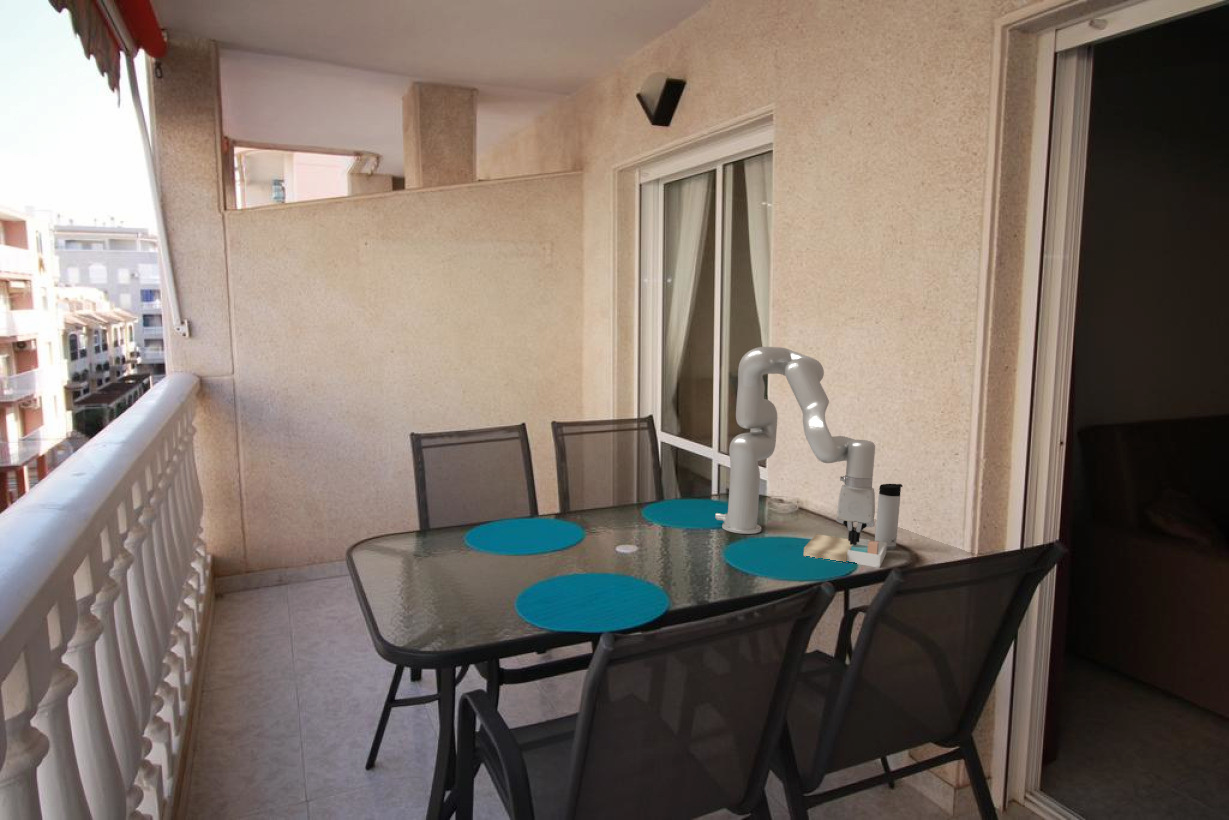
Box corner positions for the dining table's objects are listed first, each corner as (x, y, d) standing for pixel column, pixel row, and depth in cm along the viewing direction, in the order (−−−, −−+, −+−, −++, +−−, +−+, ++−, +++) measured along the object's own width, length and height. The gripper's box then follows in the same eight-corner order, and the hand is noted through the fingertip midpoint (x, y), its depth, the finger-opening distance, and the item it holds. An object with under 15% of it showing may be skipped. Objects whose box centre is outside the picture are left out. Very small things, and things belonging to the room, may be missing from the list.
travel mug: (898, 551, 233) (904, 486, 231) (875, 549, 235) (881, 484, 233) (895, 545, 239) (900, 482, 237) (873, 543, 241) (878, 480, 239)
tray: (846, 562, 219) (847, 550, 218) (854, 549, 233) (855, 537, 233) (879, 567, 215) (880, 555, 215) (886, 554, 229) (887, 542, 229)
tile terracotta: (868, 543, 221) (877, 544, 220) (870, 539, 226) (879, 541, 224) (866, 558, 222) (875, 560, 221) (868, 554, 226) (877, 556, 225)
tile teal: (850, 555, 224) (851, 547, 224) (852, 552, 228) (853, 543, 228) (866, 558, 222) (867, 549, 222) (868, 554, 226) (869, 546, 226)
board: (803, 556, 223) (804, 547, 223) (815, 542, 239) (816, 534, 239) (846, 563, 218) (846, 554, 218) (855, 548, 234) (856, 540, 234)
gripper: (830, 481, 223) (825, 542, 225) (884, 488, 217) (878, 551, 219) (834, 477, 230) (829, 537, 232) (887, 483, 224) (881, 545, 226)
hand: (853, 543), depth 225 cm, fingers closed
